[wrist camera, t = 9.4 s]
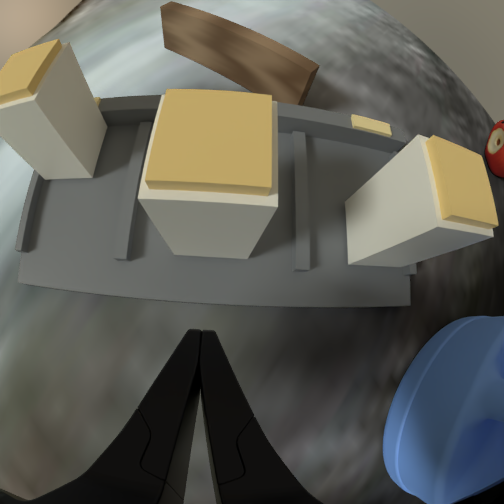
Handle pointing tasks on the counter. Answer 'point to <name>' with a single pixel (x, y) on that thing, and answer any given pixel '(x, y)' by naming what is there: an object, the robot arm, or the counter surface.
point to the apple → (496, 149)
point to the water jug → (450, 414)
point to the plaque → (238, 53)
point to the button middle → (212, 171)
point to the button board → (214, 268)
